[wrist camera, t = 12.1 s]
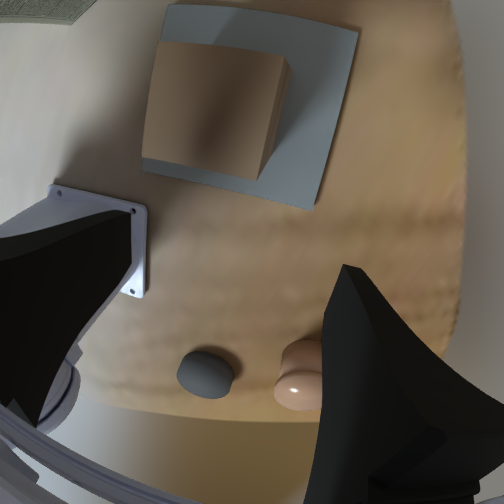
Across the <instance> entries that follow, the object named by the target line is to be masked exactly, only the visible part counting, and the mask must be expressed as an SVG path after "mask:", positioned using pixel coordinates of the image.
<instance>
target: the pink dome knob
mask: <svg viewBox="0 0 504 504" xmlns="http://www.w3.org/2000/svg"><path fill="white" fill-rule="evenodd" d="M274 396H275V399H276V400H277V401H278V402H279V403H280V404H281V405H282V406H284V407H286V408H289V409H292V410H296V411H314V410H318V409H321V408H322V346H321V342H318V341H314V340H300V341H296V342H294V343H291V344H290V345H288V346H287V347H286V348H285V349H284V351H283V353H282V360H281V367H280V374H279V379H278V380H277V382H276V384H275V389H274Z"/></svg>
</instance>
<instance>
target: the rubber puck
mask: <svg viewBox="0 0 504 504" xmlns="http://www.w3.org/2000/svg"><path fill="white" fill-rule="evenodd" d="M233 376H234V374H233V370H232V368H231V366H230V365H229V364H228V363H227V362H226V361H225V360H223V359H222V358H220V357H218V356H216V355H214V354H211V353H207V352H192V353H189V354H187V355H186V356H185V357H184V358H183V360H182V362H181V364H180V366H179V369H178V371H177V379H178V381H179V383H180V384H181V386H182V387H183V388H185V389H186V390H187V391H189V392H190V393H192V394H194V395H197V396H199V397H203V398H208V399H217V398H222V397H224V396H226V395H227V394H228V393H229V391H230V387H231V384H232V380H233Z"/></svg>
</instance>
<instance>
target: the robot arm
mask: <svg viewBox="0 0 504 504" xmlns="http://www.w3.org/2000/svg"><path fill="white" fill-rule="evenodd" d="M60 191H61V193H62V194H61V193H60ZM47 196H48V197H47V198H45V199H43V200H41V201H40V202H38V203H36V204H34V205H33V206H31V207H29V208H27V209H26V210H24V211H22V212H21V213H19V214H17V215H16V216H14V217H12V218H11V219H9V220H8V221H6V222H4V223H3V224H2V225H0V504H68V503H67V502H65V501H63V500H61V499H60V498H58V497H56V496H55V495H53V494H52V493H50V492H48V491H47V490H45V489H44V488H42V487H41V486H39V485H38V484H36V482H37V481H38V479H39V475H38V473H37V472H35V471H34V470H33V469H32V468H30V467H29V466H28V465H27V464H26V463H24V462H23V461H22V460H21V459H20V458H19V457H18V456H17V455H16V454H15V453H14V452H13V451H12V449H14V448H15V447H18V448H19V449H20V450H22V451H23V452H25V453H26V454H27V455H29V456H30V457H32V458H33V459H35V460H36V461H38V462H39V463H41V464H42V465H44V466H46V467H47V468H49V469H51V470H52V471H54V472H55V473H57V474H59V475H60V476H62V477H64V478H65V479H67V480H69V481H71V482H72V483H74V484H76V485H78V486H80V487H82V488H84V489H86V490H88V491H89V492H91V493H93V494H95V495H97V496H99V497H102V498H104V499H106V500H108V501H110V502H112V503H114V504H204V503H200V502H197V501H193V500H190V499H186V498H183V497H180V496H177V495H174V494H171V493H168V492H165V491H162V490H159V489H156V488H153V487H151V486H148V485H145V484H143V483H140V482H138V481H135V480H133V479H130V478H128V477H125V476H123V475H121V474H119V473H117V472H114V471H112V470H110V469H108V468H106V467H103V466H101V465H99V464H97V463H95V462H93V461H91V460H89V459H87V458H85V457H83V456H81V455H79V454H78V453H76V452H74V451H72V450H70V449H69V448H67V447H65V446H63V445H61V444H60V443H58V442H56V441H55V440H53V439H51V438H50V437H48V436H46V434H48V433H50V432H51V431H53V430H54V429H56V428H57V427H58V426H59V425H60V424H61V423H62V422H63V421H64V420H65V419H66V417H67V416H68V415H69V413H70V412H71V410H72V408H73V407H74V405H75V402H76V400H77V397H78V392H79V388H80V382H81V379H80V374H79V371H78V370H77V369H76V367H75V366H74V365H75V364H76V363H77V361H78V360H79V358H80V357H81V356H82V354H83V352H82V351H81V349H80V348H79V346H78V342H79V341H80V340H81V338H82V337H83V336H84V335H85V333H86V332H87V331H88V330H89V328H90V327H91V326H92V324H93V323H94V322H95V321H96V319H97V318H98V317H99V316H100V314H101V313H102V312H103V311H104V309H105V308H106V307H107V306H108V305H109V303H110V302H111V301H112V300H113V298H114V297H115V296H116V295H117V294H118V292H119V291H120V292H123V293H126V294H129V295H132V296H135V297H138V298H142V297H143V296H144V295H145V266H146V233H147V214H148V212H147V208H146V207H145V206H144V205H142V204H138V203H134V202H129V201H125V200H121V199H117V198H112V197H108V196H104V195H100V194H95V193H91V192H87V191H82V190H78V189H73V188H69V187H65V186H60V185H56V184H51V185H49V186H48V188H47ZM132 208H134V209H135V210H136V213H135V212H133V210H132ZM132 289H134V290H135V291H133V290H132ZM321 346H322V408H321V416H320V423H319V431H318V437H317V443H316V449H315V454H314V460H313V465H312V470H311V474H310V478H309V483H308V487H307V491H306V495H305V499H304V502H303V504H474V497H473V495H476V494H478V493H479V492H480V483H479V480H480V479H481V478H483V477H484V476H486V475H487V474H489V473H490V472H492V471H493V470H495V469H496V468H497V467H499V466H500V465H501V464H503V463H504V404H502V403H500V402H499V401H497V400H495V399H494V398H492V397H490V396H489V395H487V394H485V393H484V392H482V391H481V390H480V389H478V388H477V387H475V386H474V385H473V384H471V383H470V382H468V381H467V380H466V379H464V378H463V377H462V376H460V375H459V374H458V373H457V372H455V371H454V370H453V369H452V368H451V367H449V366H448V365H447V364H446V363H445V362H444V361H442V360H441V359H440V358H439V357H438V356H437V355H436V354H435V353H433V352H432V351H431V350H430V349H429V348H428V347H427V346H426V345H425V344H424V343H423V342H422V341H421V340H420V339H419V338H418V337H417V336H416V335H415V333H414V332H413V331H412V330H411V329H410V328H409V327H408V326H407V324H406V323H405V322H404V321H403V320H402V319H401V318H400V316H399V315H398V314H397V313H396V311H395V310H394V309H393V308H392V307H391V305H390V304H389V303H388V301H387V300H386V299H385V298H384V296H383V295H382V294H381V292H380V291H379V290H378V289H377V287H376V286H375V285H374V283H373V282H372V281H371V279H370V278H369V277H368V276H367V275H366V273H365V272H364V271H363V270H362V269H361V268H357V267H353V266H349V265H345V264H343V266H342V268H341V271H340V274H339V276H338V279H337V282H336V284H335V287H334V289H333V292H332V295H331V297H330V300H329V302H328V305H327V307H326V310H325V312H324V319H323V328H322V338H321ZM477 504H504V495H502V496H499V497H495V498H491V499H488V500H485V501H482V502H479V503H477Z"/></svg>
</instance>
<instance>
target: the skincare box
mask: <svg viewBox="0 0 504 504" xmlns="http://www.w3.org/2000/svg"><path fill="white" fill-rule="evenodd" d="M95 1H96V0H0V23H41V24H59V25H72V24H73V23H74V22H75V21H76V20H77V19H78V18H79V17H80V16H81V15H82V14H83V13H84V12H85V11H86V10H87V9H88V8H89V7H90V6H91V5H92V4H93V3H94V2H95Z"/></svg>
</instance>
